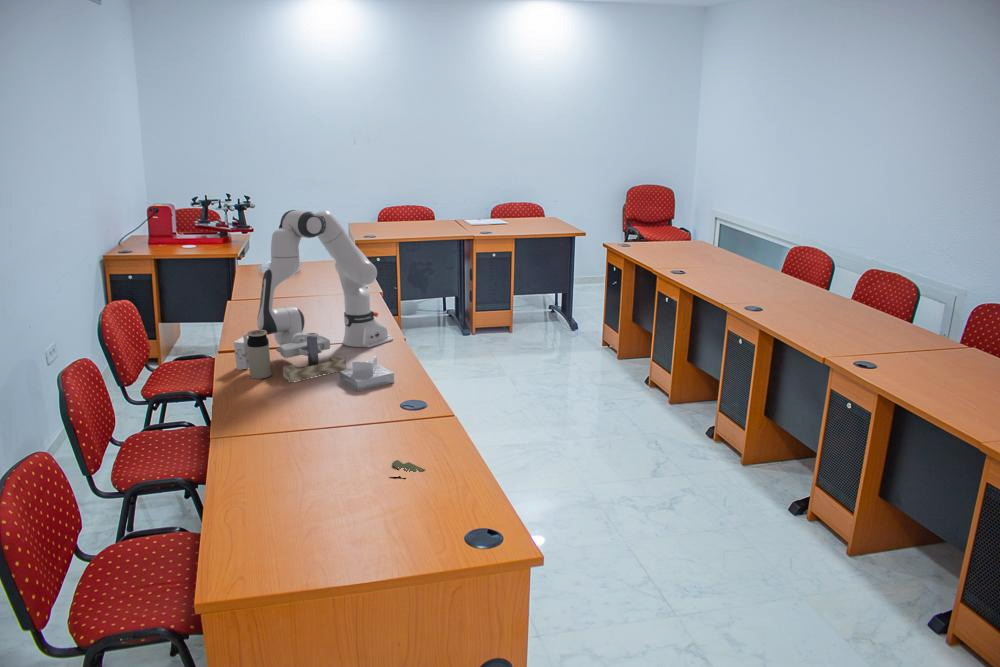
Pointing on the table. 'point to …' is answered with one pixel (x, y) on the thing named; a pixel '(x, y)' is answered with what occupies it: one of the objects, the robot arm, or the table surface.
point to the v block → (366, 375)
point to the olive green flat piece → (407, 466)
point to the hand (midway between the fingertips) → (313, 352)
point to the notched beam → (314, 369)
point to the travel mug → (258, 354)
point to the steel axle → (312, 350)
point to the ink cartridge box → (242, 352)
